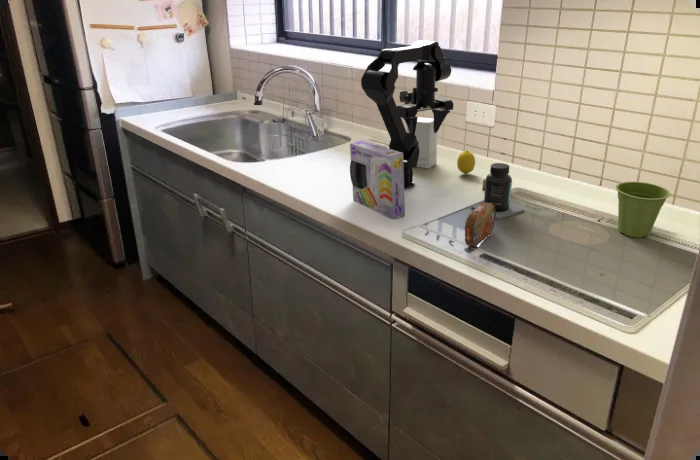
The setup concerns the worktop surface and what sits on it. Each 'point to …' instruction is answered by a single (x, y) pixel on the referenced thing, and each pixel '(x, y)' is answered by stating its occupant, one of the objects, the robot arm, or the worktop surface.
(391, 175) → the cake pan box
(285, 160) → the worktop surface
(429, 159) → the skincare box
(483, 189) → the wooden letter block
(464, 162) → the lemon
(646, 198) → the plant pot
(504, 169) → the supplement bottle
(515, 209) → the slate mat
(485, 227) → the tin
